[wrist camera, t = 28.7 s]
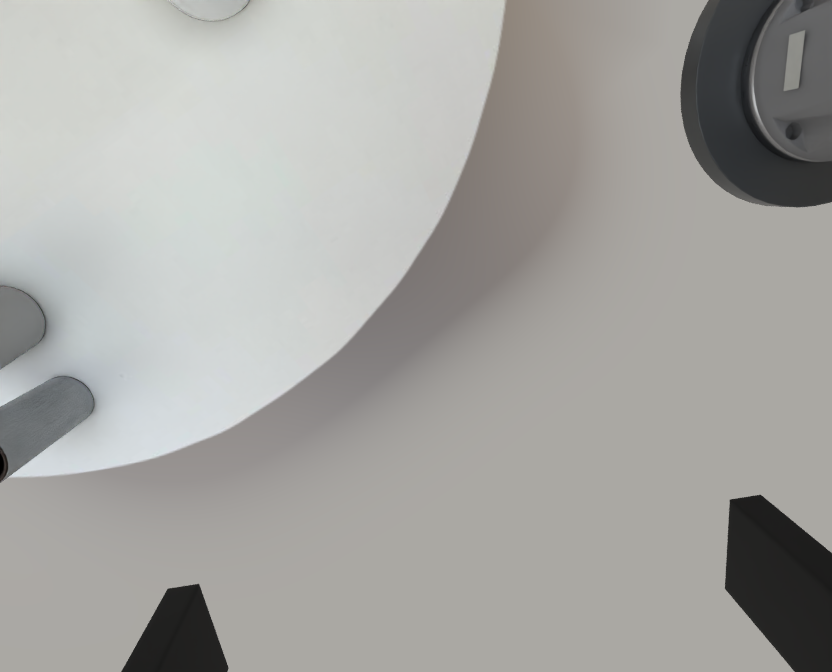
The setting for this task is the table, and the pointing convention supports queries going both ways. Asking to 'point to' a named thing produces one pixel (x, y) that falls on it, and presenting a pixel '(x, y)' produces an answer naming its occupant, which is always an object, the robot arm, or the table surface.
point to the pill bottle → (210, 8)
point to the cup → (18, 324)
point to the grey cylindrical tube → (40, 420)
